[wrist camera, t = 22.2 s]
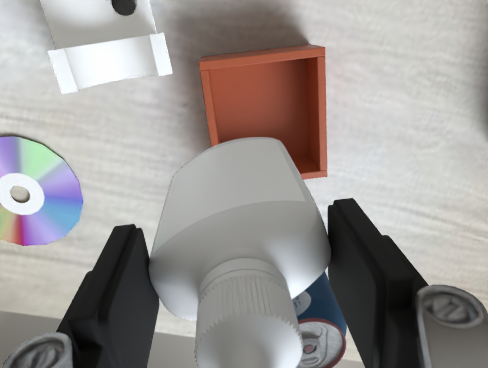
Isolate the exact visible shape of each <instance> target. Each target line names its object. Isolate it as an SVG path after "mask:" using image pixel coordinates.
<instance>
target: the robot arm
mask: <svg viewBox="0 0 488 368" xmlns="http://www.w3.org/2000/svg"><path fill="white" fill-rule="evenodd" d="M328 238H329V242H330V246H331V261H330V263H329V265H328V278H329V283H330V286H331V289H332V291H333V294H334V296H335V298H336V301H337V303H338V305H339V308H340V310H341V312H342V315H343V317H344V319H345V321H346V324H347V326H348V328H349V331H350V333H351V335H352V338H353V340H354V342H355V345H356V347H357V349H358V352H359V354H360V356H361V359H362V361H363V363H364V366H365V368H488V313H487V311H486V309H485V307H484V306H483V304H482V303H481V302H480V301H479V300H478V299H477V298H476V297H475V296H473V295H472V294H470V293H468V292H466V291H464V290H462V289H459V288H456V287H453V286H447V285H430V286H429V285H428V284H427V282H426V281H425V280H424V279H423V277H422V276H421V275H420V274H419V272H418V271H417V270H416V269H415V268H414V266H413V265H412V264H411V263H410V261H409V260H408V259H407V258H406V256H405V255H404V254H403V253H402V251H401V250H400V249H399V248H398V247H397V245H396V244H395V243H394V242H393V240H392V239H391V238H390V237H389V236H387V235H381V233H380V232H379V231H378V230H377V228H376V227H375V226H374V224H373V223H372V222H371V221H370V219H369V218H368V217H367V215H366V214H365V213H364V212H363V210H362V209H361V208H360V206H359V205H358V204H357V203H356V201H355V200H354V199H353V198H349V199H341V200H334V203H333V205H329V206H328ZM149 261H150V259H149V254H148V250H147V246H146V242H145V238H144V234H143V230H142V229H141V228H136V226H135V225H134V224H130V225H122V226H115V227H114V229H113V231H112V233H111V235H110V237H109V239H108V241H107V243H106V245H105V247H104V249H103V251H102V253H101V255H100V257H99V258H98V260H97V262H96V264H95V266H94V268H93V270H92V271H89V272H88V273H87V274H86V276H85V278H84V279H83V281H82V283H81V285H80V287H79V289H78V291H77V293H76V295H75V297H74V299H73V300H72V302H71V304H70V306H69V308H68V310H67V312H66V314H65V316H64V318H63V320H62V322H61V323H60V325H59V327H58V329H57V331H56V332H53V333H46V334H42V335H39V336H37V337H34V338H32V339H30V340H28V341H26V342H25V343H23V344H22V345H20V346H19V347H18V348H16V349H15V350H14V351H13V352H12V353H11V354H10V355H9V356H8V358H7V359H6V360H5V362H4V363H3V366H2V368H147V363H148V359H149V354H150V349H151V344H152V339H153V334H154V329H155V325H156V320H157V315H158V310H159V296H158V294H157V293H156V291H155V289H154V287H153V285H152V283H151V281H150V277H149V270H148V267H149Z"/></svg>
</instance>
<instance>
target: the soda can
mask: <svg viewBox="0 0 488 368" xmlns="http://www.w3.org/2000/svg"><path fill="white" fill-rule="evenodd" d="M292 302H293V306H294V309H295V313H296V317H297V320H298V324H299V328H300V331H301V335H302V340H303V352H302V356H301V360H300V361H299V364H298V365H297V366H296V368H332V367H333V366H335V365H336V364H337V363H338V362H339V361H340V360H341V358H342V357H343V355H344V353H345V349H346V339H345V335H346V329H347V325H346V321H345V319H344V317H343V315H342V312H341V310H340V308H339V305H338V303H337V301H336V298H335V296H334V294H333V291H332V289H331V286H330V283H329V280H328V278H327V275H326V273H325V271H324V272H323V273H322V274H321V275H320V276H319V277H318V278H317V279H316V280H315V281H314V282H313V283H312V284H311V285H310V286H309V287H308V288H306V289H305V290H304V291H303V292H301V293H300V294H299V295H297V296H296V297H295V298H293V299H292Z"/></svg>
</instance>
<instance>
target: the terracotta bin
mask: <svg viewBox="0 0 488 368" xmlns="http://www.w3.org/2000/svg"><path fill="white" fill-rule="evenodd" d="M199 68H200V74H201V81H202V88H203V95H204V102H205V108H206V115H207V122H208V129H209V135H210V142H211V147H213V146H215V145H218V144H221V143H224V142H227V141H231V140H235V139H241V138H249V137H269V138H275V139H277V140H279V141H281V142H282V144H283V145H284V146H285V148H286V150H287V151H288V153H289V155H290V157H291V159H292V161H293V162H294V164H295V166H296V168H297V170H298V171H299V173H300V175H301V177H302V179H311V178H319V177H327V137H326V76H325V47H321V46H316V45H311V44H309V45H300V46H291V47H283V48H274V49H266V50H257V51H249V52H240V53H231V54H223V55H214V56H206V57H201V59H200V61H199Z"/></svg>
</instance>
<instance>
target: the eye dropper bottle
mask: <svg viewBox="0 0 488 368" xmlns="http://www.w3.org/2000/svg"><path fill="white" fill-rule="evenodd" d="M330 261H331V246H330V242H329V238H328V235H327V232H326V229H325V225H324V223H323V220H322V217H321V214H320V212H319V210H318V208H317V206H316V204H315V202H314V200H313V198H312V196H311V194H310V192H309V190H308V188H307V186H306V184H305V183H304V181H303V179H302V177H301V175H300V173H299V171H298V170H297V168H296V166H295V164H294V162H293V161H292V159H291V157H290V155H289V153H288V151H287V150H286V148H285V146H284V145H283V144H282V142H281V141H279V140H277V139H275V138H269V137H249V138H241V139H235V140H231V141H227V142H224V143H221V144H218V145H215V146H213V147H211V148H209V149H207V150H205V151H203V152H201V153H200V154H198V155H196V156H195V157H193V158H192V159H191V160H189V161H188V162H187V163H185V164H184V165H183V166H182V167H181V168H180V169H179V170H178V171H177V172H176V173H175V174H174V176H173V178H172V180H171V183H170V186H169V190H168V193H167V197H166V200H165V203H164V207H163V210H162V214H161V217H160V221H159V225H158V228H157V232H156V235H155V239H154V243H153V247H152V251H151V255H150V261H149V267H148V270H149V277H150V281H151V283H152V285H153V287H154V289H155V291H156V293H157V294H158V296H159V298H160V300H161V301H162V303H163V304H164V306H165V307H166V309H167V310H168V311H169V312H171V313H172V314H173V315H175V316H177V317H180V318H183V319H187V320H193V321H197V325H196V340H195V358H196V362H197V365H198V367H199V368H296V366H297V365H298V364H299V361H300V360H301V356H302V352H303V340H302V335H301V331H300V328H299V324H298V320H297V317H296V313H295V309H294V306H293V302H292V299H293V298H295V297H296V296H297V295H299V294H300V293H301V292H303V291H304V290H305V289H306V288H308V287H309V286H310V285H311V284H312V283H313V282H314V281H315V280H316V279H317V278H318V277H319V276H320V275H321V274H322V273H323V272H324V271H325V270H326V268H327V266H328V265H329V263H330Z"/></svg>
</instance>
